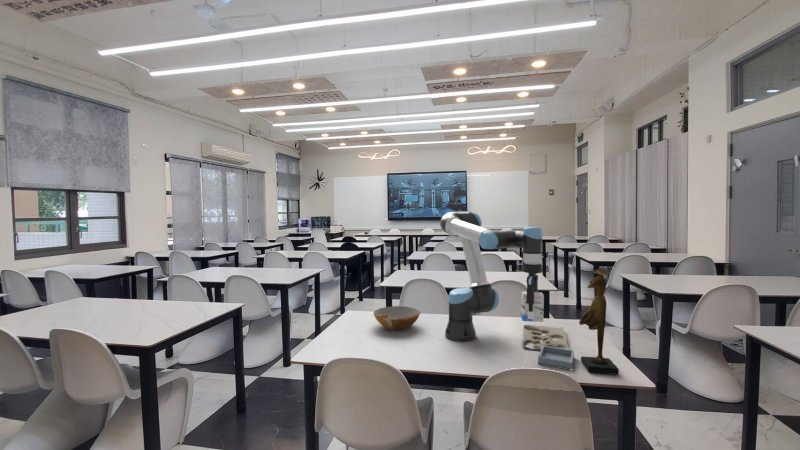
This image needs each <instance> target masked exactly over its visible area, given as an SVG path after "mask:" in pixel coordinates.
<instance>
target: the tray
mask: <svg viewBox="0 0 800 450" xmlns="http://www.w3.org/2000/svg"><path fill="white" fill-rule="evenodd" d="M574 356H575V350H573V349H569V350H568V349H562V348H555V347H549V346H543V345H542V348H541V349H540V351H539V354H538V357H537V359H538V360H537V365H541V364H542V365H541V366H546V365H548V366H547V367H552V366H554V367H553V368H557V367H561V368H560V369H562V368H567V369H566V370H568V369H572V370H573V365H574V359H575V357H574Z"/></svg>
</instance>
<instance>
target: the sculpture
mask: <svg viewBox="0 0 800 450" xmlns="http://www.w3.org/2000/svg"><path fill="white" fill-rule="evenodd" d="M591 273H592V274H597V276H596V277H595V278H593V279H591V280H589V284H588V285H587V289H593V288H594V294H595V297H594V299H592V301H591V304H590V306H589V308H588V309H587V310H586V311H585V312H584V313H583V315H582V316H581V318H580V320H579V321H578V324H579V325H580V326H582V325H586V326H587V327H588V330H592V331H595V330H596V331H597V332H596V334H597V335H596V336H597V337H596V338H597V339H596V340H597V356H583V355H582V356H580V362H581V363H582V365H583V366H584V368H585V369H586V371H587V372H588V373H597V374H607V375H608V374H609V375H619V374H620V373H619V372H620V370H619V367H618V366H617V365H616V364H615V363H614V362H613V360H611V359H610V358H608V357H604V356H603V350H604V349H603V347H604V337H605V328H606V317H607V315H606V313H607V298H606V296H605V292H606V288H607V282H608V281H607V280H606V279H605V277H604V275H609V274H610V273H611V271H608V270H605V269H603V268H602V267H601V268H600V267H599V268H597V269H596V270H594V269H592V270H591Z"/></svg>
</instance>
